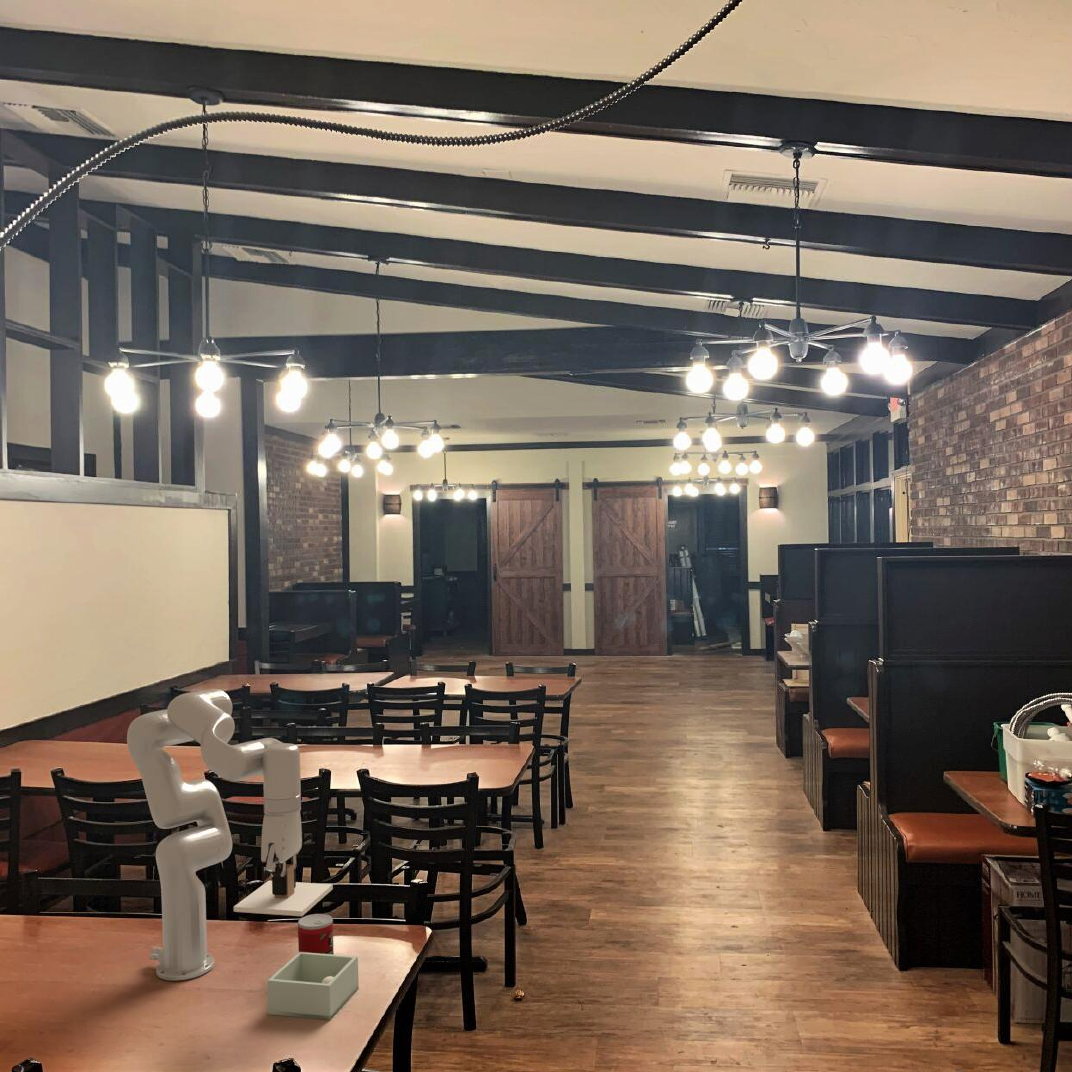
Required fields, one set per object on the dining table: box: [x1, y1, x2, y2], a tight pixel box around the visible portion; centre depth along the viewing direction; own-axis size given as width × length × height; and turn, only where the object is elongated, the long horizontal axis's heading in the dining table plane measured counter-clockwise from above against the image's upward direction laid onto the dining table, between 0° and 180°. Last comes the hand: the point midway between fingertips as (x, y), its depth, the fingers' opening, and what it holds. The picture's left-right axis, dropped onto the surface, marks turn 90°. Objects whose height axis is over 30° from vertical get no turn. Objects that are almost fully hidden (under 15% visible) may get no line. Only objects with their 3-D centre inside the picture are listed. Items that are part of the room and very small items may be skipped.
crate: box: [267, 951, 360, 1021], centre depth 204 cm, size 14×14×7 cm
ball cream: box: [322, 976, 334, 984], centre depth 206 cm, size 4×4×4 cm
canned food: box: [297, 913, 335, 955], centre depth 221 cm, size 8×8×11 cm
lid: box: [233, 864, 334, 917], centre depth 201 cm, size 15×15×7 cm
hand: (284, 890), depth 201 cm, fingers closed on lid, 3 cm apart
